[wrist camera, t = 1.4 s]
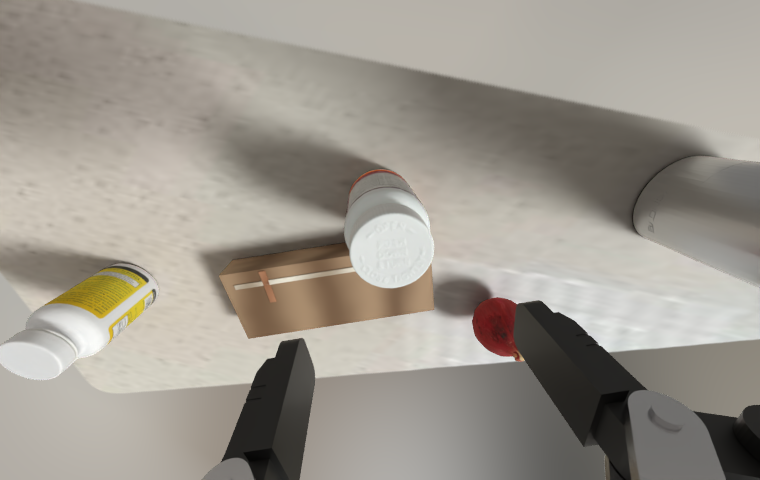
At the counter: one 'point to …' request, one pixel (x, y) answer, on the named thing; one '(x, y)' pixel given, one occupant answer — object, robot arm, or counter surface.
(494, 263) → the counter surface
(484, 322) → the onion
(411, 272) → the pill bottle
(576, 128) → the counter surface
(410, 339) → the counter surface
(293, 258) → the brown banded box
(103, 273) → the supplement bottle
